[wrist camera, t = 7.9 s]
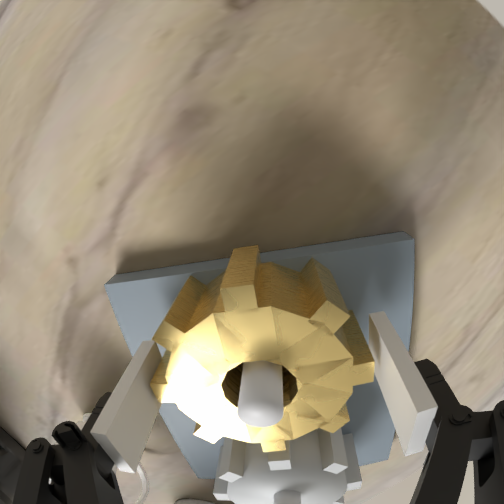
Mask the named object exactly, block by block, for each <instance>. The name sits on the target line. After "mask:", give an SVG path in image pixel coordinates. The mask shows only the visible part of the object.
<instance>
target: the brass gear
mask: <svg viewBox="0 0 504 504" xmlns="http://www.w3.org/2000/svg"><path fill="white" fill-rule="evenodd" d="M152 340H153V341H155V342H156V343H158V344H159V345H161V346H163V347H164V348H166V351H165V353H164V355H163V357H162V359H161V361H160V363H159V365H158V368H157V370H156V372H155V374H154V376H153V378H152V380H151V382H150V386H151V388H152V390H153V392H154V394H155V396H156V398H157V400H158V402H177V404H178V407H179V409H180V410H181V411H183V412H184V413H185V414H187V415H188V416H189V417H191V418H192V419H193V420H195V421H196V426H195V429H194V433H193V434H194V435H196V436H198V437H200V438H203V439H205V440H207V441H209V442H211V443H215V442H216V441H217V440H218V439H220V438H221V437H222V436H225V437H229V438H233V439H237V440H241V441H245V442H249V443H261V446H262V449H263V452H272V451H284V450H286V440H294V439H296V438H298V437H301V436H303V435H305V434H307V433H309V432H311V431H313V430H315V429H317V428H321V429H323V430H326V431H328V432H331V433H334V432H336V431H337V430H338V429H340V428H341V427H342V426H344V425H345V424H346V423H347V422H349V421H350V418H349V414H348V410H347V406H346V401H347V400H348V399H349V397H350V396H351V395H352V393H353V386H355V385H360V384H365V383H370V382H373V381H374V367H375V361H374V358H373V356H372V354H371V351H370V349H369V347H368V344H367V342H366V340H365V337H364V335H363V333H362V331H361V328H360V326H359V324H358V322H357V319H356V317H355V315H354V313H353V310H349V311H348V309H347V307H346V304H345V302H344V300H343V298H342V295H341V293H340V291H339V289H338V286H337V284H336V282H335V280H334V277H333V275H332V273H331V271H330V270H329V269H328V268H326V267H325V266H323V265H322V264H321V263H319V262H318V261H317V260H315V259H314V258H311V259H310V260H309V261H308V263H307V264H306V265H305V266H304V268H303V269H302V270H301V271H300V272H298V271H295V270H292V269H290V268H287V267H284V266H281V265H278V264H276V263H273V262H267V263H261V258H260V252H259V246H258V245H254V246H248V247H241V248H235V249H233V252H232V255H231V258H230V261H229V263H228V266H227V269H226V270H225V271H224V272H223V273H221V274H220V275H219V276H217V277H216V278H215V279H214V280H212V281H211V282H210V283H209V284H207V285H205V284H203V283H202V282H200V281H199V280H197V279H196V278H194V277H193V276H191V275H190V276H189V278H188V279H187V281H186V282H185V284H184V285H183V287H182V288H181V290H180V291H179V293H178V295H177V296H176V298H175V300H174V301H173V303H172V305H171V306H170V308H169V310H168V312H167V313H166V315H165V317H164V318H163V320H162V322H161V324H160V325H159V327H158V329H157V330H156V332H155V334H154V336H153V337H152ZM261 360H265V361H268V362H271V363H275V364H278V365H282V378H283V413H284V414H283V417H282V419H281V420H280V421H279V422H278V423H277V424H275V425H272V426H269V427H253V426H249V425H247V424H245V423H244V422H242V421H241V420H240V419H239V417H238V415H237V409H238V401H239V394H240V386H241V378H242V371H243V363H244V362H252V361H261Z"/></svg>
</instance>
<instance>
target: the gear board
mask: <svg viewBox="0 0 504 504" xmlns="http://www.w3.org/2000/svg"><path fill="white" fill-rule="evenodd" d="M414 254H415V249H414V238H412V237H411V236H410V235H408V234H407V233H405V232H404V231H402V232H395V233H389V234H382V235H376V236H369V237H363V238H356V239H350V240H343V241H336V242H330V243H323V244H317V245H310V246H303V247H297V248H290V249H284V250H277V251H270V252H264V253H260V258H261V263H267V262H273V263H276V264H278V265H281V266H284V267H287V268H290V269H292V270H295V271H298V272H300V271H301V270H302V269H303V268H304V266H305V265H306V264H307V263H308V261H309V260H310V259H311V258H314V259H315V260H317V261H318V262H319V263H321V264H322V265H323V266H325V267H326V268H328V269H329V270H330V271H331V273H332V275H333V277H334V280H335V282H336V284H337V286H338V289H339V291H340V293H341V295H342V298H343V300H344V302H345V304H346V307H347V309H348V311H349V310H353V313H354V315H355V317H356V319H357V322H358V324H359V326H360V328H361V331H362V333H363V335H364V337H365V340H366V342H367V344H368V347H369V314H370V313H376V312H381V311H384V312H385V314H386V316H387V317H388V319H389V321H390V322H391V324H392V326H393V327H394V329H395V331H396V332H397V334H398V336H399V337H400V339H401V341H402V342H403V344H404V346H405V347H406V349H407V351H408V352H409V344H410V334H411V323H412V310H413V293H414ZM230 258H231V257H230ZM230 258H224V259H217V260H210V261H204V262H197V263H190V264H184V265H177V266H170V267H164V268H157V269H150V270H143V271H137V272H130V273H123V274H116V275H114V276H113V277H112V278H111V279H110V280H109V281H108V282H107V283H106V284H104V286H105V289H106V292H107V294H108V297H109V300H110V303H111V305H112V308H113V311H114V313H115V316H116V318H117V321H118V324H119V326H120V329H121V331H122V333H123V336H124V338H125V341H126V343H127V345H128V348H129V350H130V352H131V355H132V357H133V356H134V355H135V353H136V351H137V350H138V348H139V346H140V345H141V343H142V341H150V340H152V337H153V336H154V334H155V332H156V330H157V329H158V327H159V325H160V324H161V322H162V320H163V318H164V317H165V315H166V313H167V312H168V310H169V308H170V306H171V305H172V303H173V301H174V300H175V298H176V296H177V295H178V293H179V291H180V290H181V288H182V287H183V285H184V284H185V282H186V281H187V279H188V278H189V276H190V275H191V276H193V277H194V278H196V279H197V280H199V281H200V282H202V283H203V284H205V285H207V284H209V283H210V282H211V281H212V280H214V279H215V278H216V277H217V276H219V275H220V274H221V273H223V272H224V271H225V270H226V269H227V266H228V263H229V261H230ZM157 346H158V348H159V351H160V353H161V356H162V357H163V355H164V353H165V351H166V348H164V347H163V346H161V345H159V344H158V343H157ZM346 406H347V410H348V414H349V418H350V421H349V422H347V423H346V424H345V425H344V426H342V427H341V428H340V429H338V430H337V431H336V432H334V433H331V432H328V431H326V430H323V429H321V428H317V429H315V430H313V431H311V432H309V433H307V434H305V435H303V436H301V437H298V438H296V439H294V440H286V450H284V451H272V452H263V449H262V446H261V443H249V442H245V441H241V440H237V439H233V438H229V437H225V436H222V437H221V438H220V439H218V440H217V441H216V442H215V443H211V442H209V441H207V440H205V439H203V438H200V437H198V436H196V435H194V434H193V433H194V429H195V426H196V421H195V420H193V419H192V418H191V417H189V416H188V415H187V414H185V413H184V412H183V411H181V410H180V409H179V407H178V404H177V402H162V404H161V407H160V409H159V413H160V414H161V416H162V418H163V420H164V422H165V424H166V426H167V427H168V429H169V431H170V433H171V434H172V436H173V438H174V440H175V441H176V443H177V445H178V447H179V448H180V450H181V452H182V453H183V455H184V457H185V458H186V460H187V461H188V463H189V465H190V466H191V468H192V469H193V471H194V473H195V474H196V476H197V477H198V478H203V479H215V484H214V490H213V494H214V496H215V497H216V499H217V500H231V501H232V502H234V503H235V504H344V498H343V495H344V494H345V492H346V491H349V490H354V489H359V488H361V483H362V479H361V474H360V469H359V466H362V465H367V464H371V463H376V462H380V461H384V460H388V458H389V454H390V450H391V446H392V442H393V438H394V433H395V427H394V424H393V421H392V418H391V416H390V413H389V410H388V407H387V405H386V402H385V399H384V397H383V394H382V391H381V389H380V386H379V384H378V381H377V378H376V376H375V373H374V381H373V382H370V383H365V384H360V385H355V386H353V393H352V395H351V396H350V397H349V399H348V400H347V401H346ZM283 414H284V413H283V378H282V365H278V364H275V363H271V362H268V361H265V360H261V361H252V362H244V363H243V371H242V378H241V386H240V394H239V401H238V409H237V415H238V417H239V419H240V420H241V421H242V422H244V423H245V424H247V425H249V426H253V427H269V426H272V425H275V424H277V423H278V422H279V421H280V420H281V419H282V417H283Z"/></svg>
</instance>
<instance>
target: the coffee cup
mask: <svg viewBox="0 0 504 504" xmlns="http://www.w3.org/2000/svg"><path fill="white" fill-rule="evenodd" d="M175 504H215V503H211V502H208V501H202V500H194V499H182V500H178V501H176V502H175Z"/></svg>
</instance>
